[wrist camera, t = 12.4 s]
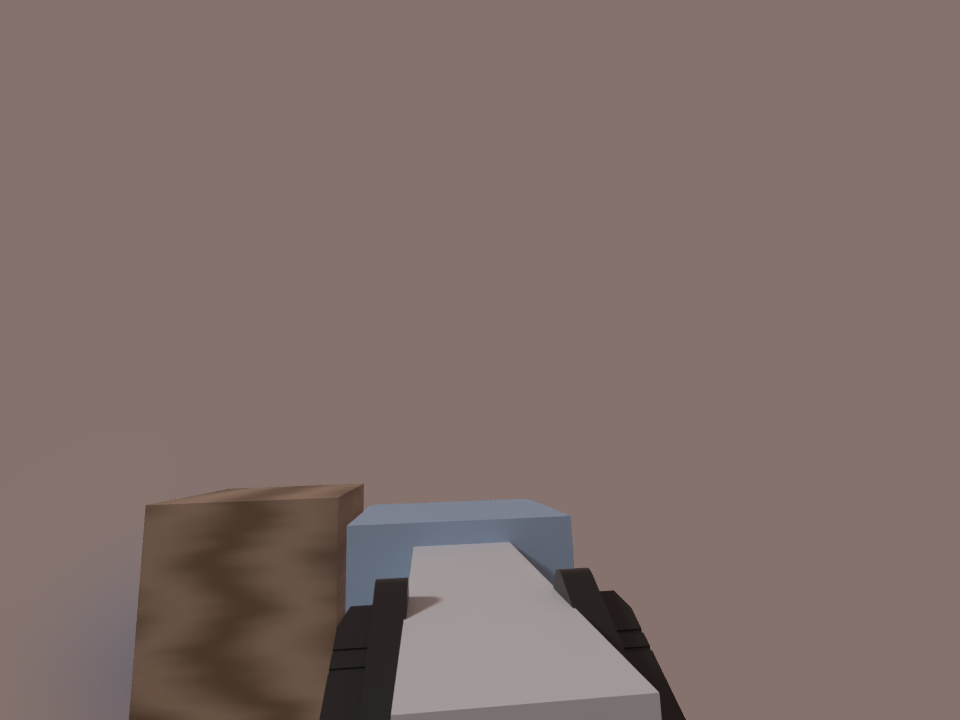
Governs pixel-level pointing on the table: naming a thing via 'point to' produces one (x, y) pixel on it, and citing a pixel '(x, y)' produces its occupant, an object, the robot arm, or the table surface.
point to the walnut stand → (241, 602)
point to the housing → (490, 615)
